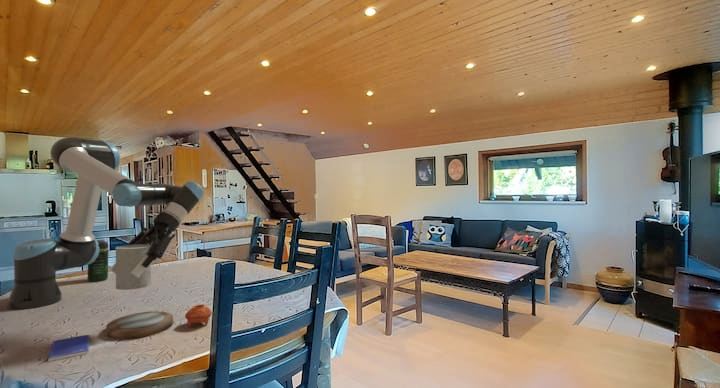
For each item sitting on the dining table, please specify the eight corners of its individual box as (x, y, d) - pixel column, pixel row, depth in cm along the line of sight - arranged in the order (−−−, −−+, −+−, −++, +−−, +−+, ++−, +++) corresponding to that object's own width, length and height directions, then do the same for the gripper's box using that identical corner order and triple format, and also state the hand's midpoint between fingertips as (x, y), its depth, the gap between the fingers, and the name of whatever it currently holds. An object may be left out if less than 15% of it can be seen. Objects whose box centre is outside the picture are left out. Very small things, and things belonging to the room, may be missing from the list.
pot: (193, 330, 112) (190, 308, 112) (182, 330, 117) (179, 308, 117) (218, 322, 118) (215, 301, 119) (206, 322, 123) (203, 302, 124)
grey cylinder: (144, 280, 120) (144, 243, 120) (156, 285, 114) (156, 246, 114) (111, 286, 113) (110, 246, 113) (121, 291, 107) (121, 250, 107)
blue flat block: (88, 349, 96) (89, 334, 106) (48, 357, 91) (53, 340, 102) (88, 355, 96) (89, 339, 106) (48, 363, 91) (53, 346, 102)
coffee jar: (108, 280, 170) (108, 241, 170) (87, 283, 165) (87, 242, 165) (108, 276, 178) (108, 238, 178) (87, 278, 173) (88, 239, 173)
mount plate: (92, 332, 110) (93, 324, 110) (149, 314, 126) (149, 307, 126) (131, 343, 102) (131, 335, 102) (185, 322, 119) (185, 315, 119)
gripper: (199, 226, 123) (156, 284, 108) (156, 224, 132) (110, 276, 118) (186, 212, 118) (138, 270, 104) (141, 210, 127) (93, 263, 113)
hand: (123, 273), depth 111 cm, fingers closed on grey cylinder, 9 cm apart
